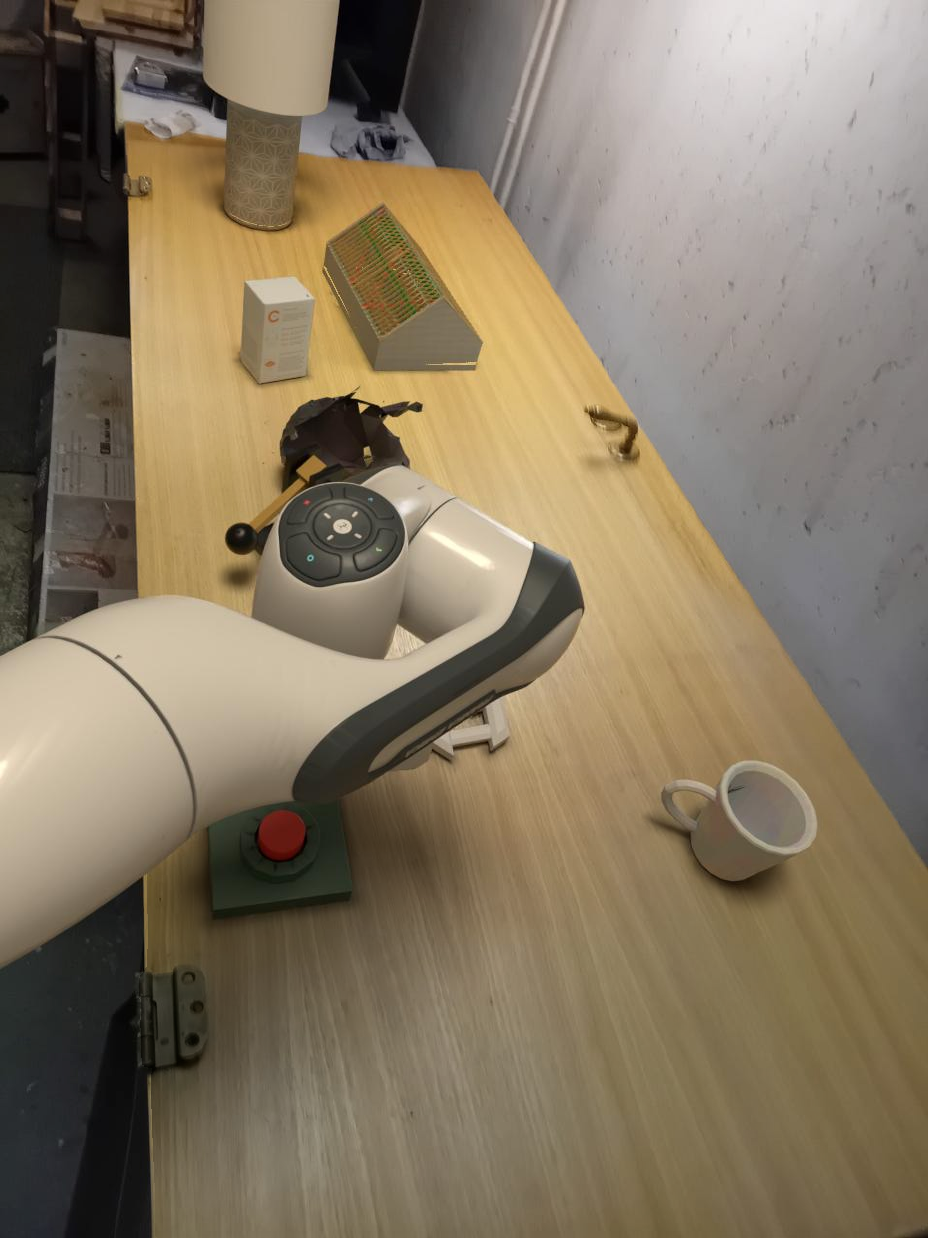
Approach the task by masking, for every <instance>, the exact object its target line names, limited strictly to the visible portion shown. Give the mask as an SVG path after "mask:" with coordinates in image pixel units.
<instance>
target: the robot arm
mask: <svg viewBox="0 0 928 1238" xmlns="http://www.w3.org/2000/svg"><path fill="white" fill-rule="evenodd" d="M274 522H275V523H274ZM274 522H273V523H274V525H273V527H272V529H271V532H270V534H269V536H268V539H267V541H266V544H265V547H264V550H263V553H262V555H261V557H260V561H259V564H258V569H257V573H256V578H255V582H254V589H253V595H252V602H251V603H252V604H251V613H250V614H251V615H247V614H246V613H243V612H240V611H239V610H236V609H233V608H231V607H229V606H226V605H223V604H221V603H220V604H219V603H217V602H214V601H211V600H206V599H201V598H197V597H193V596H187V595H180V594H179V595H178V594H159V595H149V596H144V597H138V598H131V599H128V600H127V599H126V600H123V601H118V602H113V603H111V604H107V605H104V606H101V607H98V608H95V609H93V610H90V611H88V612H86V613H84V614H81V615H79V616H77V617H74V618H73V619H70V620H69V621H67V622H64V623H62V624H60V625H59V626H56V627H54V628H53V629H50V630H48V631H46V632H44V633H43V634H40V635H38V636H37V637H35V638H32V639H31V640H29V641H26V642H24V643H22V644H21V645H19V646H17V647H15V648H13V649H11V650H10V651H7V652H6V653H4V654H1V655H0V970H1V969H3V968H5V967H7V966H9V965H10V964H13V962H15V961H18V960H19V959H21V958H22V957H25V956H26V955H28V954H30V953H31V952H33V951H34V950H36V949H38V948H40V947H41V946H43V945H45V944H46V943H48V942H49V941H51V940H52V939H54V938H56V937H57V936H59V935H60V934H62V933H64V932H65V931H67V930H68V929H70V928H72V927H73V926H75V925H77V924H78V923H80V922H81V921H83V920H84V919H86V918H87V917H88V916H90V915H91V914H93V913H95V912H96V911H97V910H98V909H100V908H102V907H103V906H105V905H106V904H107V903H109V902H110V901H112V900H113V899H115V898H116V897H118V896H119V895H120V894H121V893H123V892H124V891H126V890H127V889H128V888H130V887H131V886H132V885H133V884H135V883H136V882H137V881H139V880H140V879H142V878H143V877H144V876H145V875H147V874H148V873H149V872H151V870H153V869H154V868H155V867H156V866H158V865H159V864H160V863H162V862H163V861H164V860H165V859H166V858H168V857H169V856H170V855H171V854H173V853H174V852H175V851H176V850H177V849H179V848H180V847H181V846H182V845H183V844H185V843H187V842H188V840H190V839H191V838H192V837H193V836H195V835H196V834H198V833H199V832H201V831H203V830H204V829H206V828H207V826H209V825H211V824H213V823H215V822H217V821H219V820H221V819H224V818H227V817H229V816H231V815H234V814H237V813H240V812H243V811H246V810H250V809H253V808H257V807H261V806H265V805H270V804H276V803H282V802H289V801H297V802H303V803H316V804H327V803H331V802H333V801H336V800H338V801H339V800H341V799H343V798H345V797H348V795H351V794H353V793H354V792H356V791H358V790H360V789H362V788H363V787H365V786H367V785H369V784H371V783H372V782H374V781H376V780H377V779H379V778H381V777H382V776H384V775H385V774H386V773H389V772H399V771H411V770H416V769H418V768H420V767H421V766H423V765H425V764H426V763H428V761H429V760H430V757H431V753H432V750H433V749H432V746H433V742H434V741H435V740H437V739H438V738H440V737H441V736H443V735H444V734H446V733H447V732H449V731H453V729H455V728H457V726H459V725H461V724H462V723H464V722H465V721H467V720H468V719H470V718H471V717H472V716H474V715H475V714H477V713H479V712H478V711H480V710H481V709H483V708H484V707H486V706H487V705H489V704H490V703H492V702H494V701H495V700H497V699H499V698H501V697H503V696H504V697H505V696H507V695H510V694H512V693H515V692H517V691H520V690H524V689H525V688H527V687H528V686H530V685H531V684H533V682H535V681H536V680H537V679H538V678H540V677H542V676H543V675H545V674H546V673H547V672H548V671H550V670H551V669H552V668H553V667H554V666H555V665H556V664H557V663H558V662H559V661H560V659H561V658H562V657H563V656H564V654H565V653H566V651H567V650H568V649H569V647H570V646H571V644H572V642H573V640H574V638H575V636H576V634H577V632H578V630H579V628H580V624H581V621H582V619H583V616H584V614H585V610H586V607H585V601H584V595H583V592H582V588H581V584H580V581H579V578H578V575H577V572H576V570H575V568H574V565H573V562H572V560H571V559H569V558H567V557H566V556H563V555H561V554H559V553H557V552H555V551H554V550H551V549H550V548H548V547H546V546H544V545H542V544H540V543H538V542H536V541H531V540H529V539H527V538H526V537H524V536H523V535H521V534H520V533H518V532H516V531H515V530H512V528H510V527H508V526H506V525H505V524H503V523H502V522H500V521H499V520H497V519H496V518H493V517H492V516H490V515H489V514H487V513H486V512H484V511H482V510H481V509H479V508H478V507H476V506H474V505H472V504H471V503H469V502H468V501H467V500H465V499H463V498H461V497H458V496H457V495H455V494H453V493H452V492H450V491H449V490H447V489H445V488H444V487H443V486H441V485H439V484H438V483H436V482H435V481H433V480H431V479H429V478H427V476H424V475H423V474H421V473H419V472H417V471H415V470H413V469H411V468H410V469H409V468H407V467H406V466H404V465H400V464H395V465H386V466H381V467H377V468H373V469H370V470H367V471H364V472H361V473H359V474H356V475H353V476H351V477H348V478H346V479H342V481H341V482H332V483H325V484H320V485H317V486H314V487H311V488H308V489H306V490H304V491H303V492H301V493H299V494H298V495H297V496H295V497H294V498H292V499H291V500H290V501H289V502H288V503H287V504H286V505H285V506H284V508H283V509H282V510H281V512H280V514H278V515H277V516H276V519H275V521H274ZM397 626H399V627H400V628H401V629H403V630H405V631H406V632H408V633H409V634H410V635H412V636H414V637H415V638H417V639H418V640H420V641H421V642H423V643H424V644H423V645H422V646H420V647H418V648H416V649H414V650H412V651H410V652H408V653H406V654H404V655H402V656H399V657H395V658H386V657H387V655H388V653H389V651H390V649H391V646H392V644H393V641H394V639H395V634H396V630H397ZM480 712H481V711H480Z"/></svg>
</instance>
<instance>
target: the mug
mask: <svg viewBox="0 0 928 1238" xmlns="http://www.w3.org/2000/svg"><path fill="white" fill-rule="evenodd" d="M682 791H683V792H684V791H685V792H686V791H687V792H692V793H696V794H698V795H700V796H703V797H704V798H705V799H707V801H706V802H705V804H704V806H703V807H702V808H701V811H700V812H699V814H698V816H697V817H696V820H694V819H692V818H691V817H689V816H688V815H687V814H685V813H684V812H683V811H682V810H681V809H679V807H677V805H676V803H674V800H673V794H675V793H678V792H682ZM660 797H661V803H662V805H663V807H664V810H665V811H666V812H667V813H668V814H669V816H670V817H671V818H672V819H673V820H674V821H675V822H676V823H678V824H680V825H681V826H682V827H684V828H686V829H687V830H689V831H690V846H691V849H692V851H693V854H694V856H695V857H696V859H697V860H698V862H699V863H700V865H701V866H702V867H703V868H705V870H707V871H708V872H709V873H710V874H711V875H713V876H715V877H717V878H719V879H720V880H724V881H729V882H738V881H744V880H746V879H748V878H751V877H753V876H754V875H757V874H759V873H761V872H763V871H765V870H767V869H768V870H769V868H772V867H774V866H776V865H778V864H781V863H782V862H785V861H788V860H789V859H791V858H793V857H795V856H798V855H800V854H801V853H803V852H805V851H807V850H808V849H809V848H810V847H811V846H812V844H813V842H814V841H815V839H816V837H817V832H818V825H819V823H818V819H817V813H816V809H815V807H814V805H813V803H812V801H811V799H810V797H809V795H808V794H807V792H805V789H803V787H802V786H801V785H800V784H799V782H798V781H797V780H795V779H794V778H793V777H792V776H791V775H789V774H788V773H787V772H785V771H784V770H782V769H781V768H778V767H777V766H775V765H773V764H771V763H768V762H765V761H760V760H757V759H756V760H755V759H754V760H741V761H739V762H737V763H734V764H732V765H730V766H729V767H728V768H727V769H726V770H725V772H724V773H723V774H722V775H721V777H720V779H719V780H718V782H717V784H716V785H715V787H714V788H713V787H711V786H709V785H707V784H705V783H703V782H700V781H696V780H691V779H675V780H673V781H670V782H668V783H666V784H665V786H664V787H663V789H662V791H661V793H660Z"/></svg>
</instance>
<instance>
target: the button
mask: <svg viewBox="0 0 928 1238" xmlns="http://www.w3.org/2000/svg"><path fill="white" fill-rule="evenodd" d="M304 837H305V825H304V823H303V821H302V820H301V818H300V817H299V816H298V815H296V814H295V813H293V812H290V811H286V810H280V811H275V812H272V813H270V814H269V815H267V816H266V817H265V818H264V819H263V821H262V822H261V824H260V827H259V833H258V845H259V848H260V850H261V851H262V853H263V854H264V855H265V856H267V857H268V858H270V859H273V860H279V861H281V860H287V859H290V858H292V857H294V856H295V855H296V854H297V853H298V852H299V851H300V849H301V848H302V845H303V841H304Z"/></svg>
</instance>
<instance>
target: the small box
mask: <svg viewBox="0 0 928 1238" xmlns="http://www.w3.org/2000/svg"><path fill="white" fill-rule="evenodd" d="M315 303H316V298H315V297H314V296H313V295H312V293H311V292H310V291H309V290H308V289H307V288H306V287H305V286H304V285H303V284H302V282H301V281H299V279H298V278H297V277H296V276H294V275H293V276H292V275H291V276H282V277H281V276H280V277H270V278H262V279H261V278H260V279H251V280H249V279H248V280H244V283H243V299H242V304H243V305H242V318H241V319H242V320H241V321H242V322H241V323H242V324H241V337H240V339H241V340H240V362H241V364H242V365H243V366H244V367H245V368H246V370H247V371H248V373H249V374H250V375H251V376H252V377H253V379H254V380H255V381H256V382H257V383H258V384H260V385H261V384H267V383H271V382H278V381H284V380H288V379H295V378H303V377H306V375H307V370H308V369H307V368H308V359H309V352H310V344H311V336H312V327H313V320H314V311H315Z"/></svg>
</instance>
